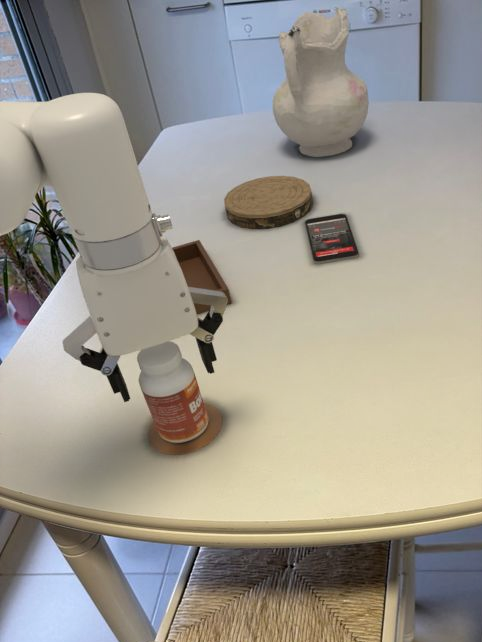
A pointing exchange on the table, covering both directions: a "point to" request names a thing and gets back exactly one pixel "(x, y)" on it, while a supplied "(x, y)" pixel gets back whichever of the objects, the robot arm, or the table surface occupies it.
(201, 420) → the pill bottle
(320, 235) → the smartphone
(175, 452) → the coaster
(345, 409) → the table surface
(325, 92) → the ceramic pitcher
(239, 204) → the wood log slice
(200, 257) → the tray
